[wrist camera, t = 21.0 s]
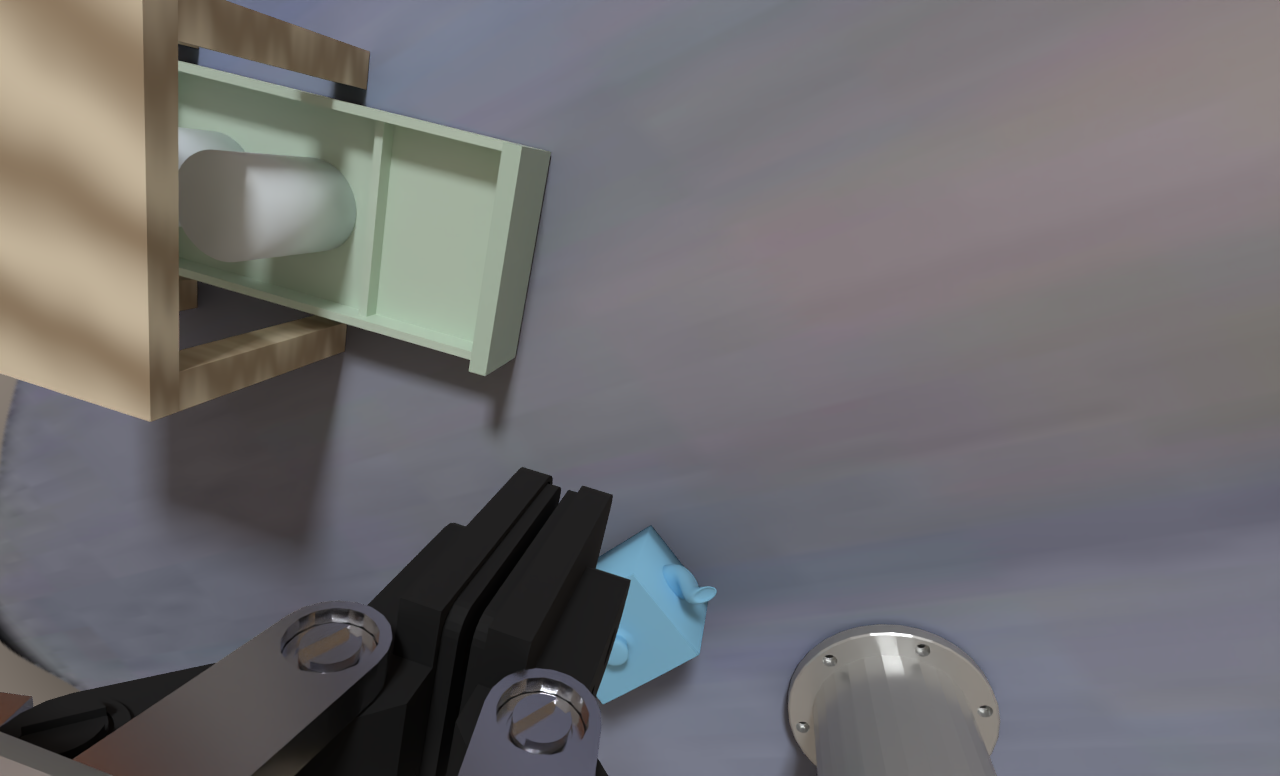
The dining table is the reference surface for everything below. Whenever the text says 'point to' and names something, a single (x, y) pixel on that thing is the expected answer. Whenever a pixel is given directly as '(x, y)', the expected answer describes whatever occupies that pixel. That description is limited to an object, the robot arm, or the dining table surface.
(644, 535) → the teapot
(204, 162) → the white piece
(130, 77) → the miniature wooden table
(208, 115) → the tray
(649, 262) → the dining table surface
